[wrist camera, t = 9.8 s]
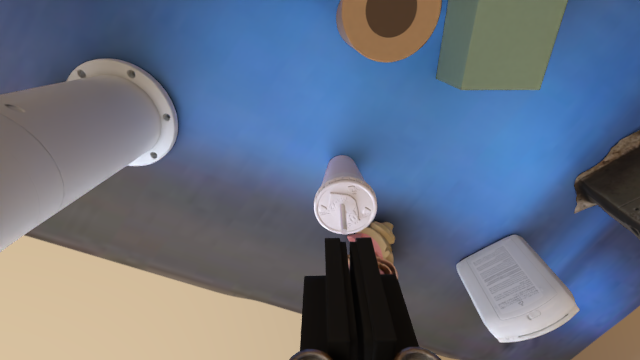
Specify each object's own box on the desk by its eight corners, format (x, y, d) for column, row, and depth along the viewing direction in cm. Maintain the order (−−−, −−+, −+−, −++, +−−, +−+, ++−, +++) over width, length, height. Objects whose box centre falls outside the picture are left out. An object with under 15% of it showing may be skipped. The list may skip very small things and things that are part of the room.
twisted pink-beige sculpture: (361, 196, 41) (423, 236, 35) (373, 226, 48) (425, 262, 43) (316, 247, 39) (374, 298, 33) (336, 270, 46) (385, 314, 41)
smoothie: (346, 134, 36) (356, 190, 24) (376, 171, 38) (400, 240, 26) (306, 165, 38) (295, 231, 26) (337, 199, 40) (341, 275, 28)
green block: (435, 78, 33) (460, 90, 27) (457, -57, 28) (495, -83, 21) (499, 78, 33) (540, 89, 27) (534, -59, 27) (595, -84, 21)
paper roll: (352, 48, 34) (256, 57, 24) (354, -14, 32) (247, -35, 21) (472, 51, 27) (413, 67, 17) (488, -27, 25) (430, -68, 14)
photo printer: (463, 280, 46) (506, 358, 35) (449, 263, 45) (489, 340, 34) (528, 247, 43) (597, 322, 32) (515, 228, 42) (583, 300, 31)
